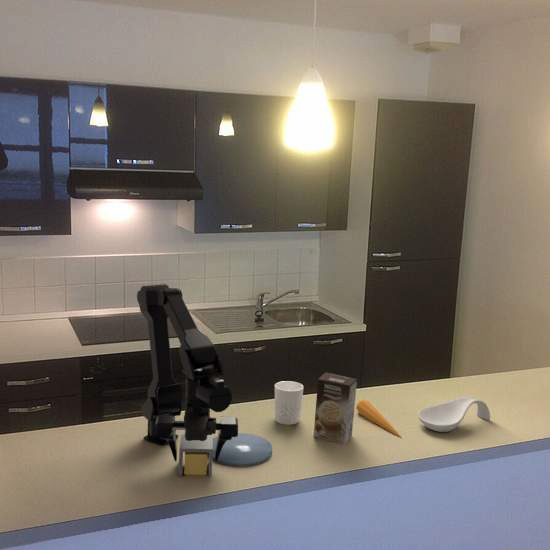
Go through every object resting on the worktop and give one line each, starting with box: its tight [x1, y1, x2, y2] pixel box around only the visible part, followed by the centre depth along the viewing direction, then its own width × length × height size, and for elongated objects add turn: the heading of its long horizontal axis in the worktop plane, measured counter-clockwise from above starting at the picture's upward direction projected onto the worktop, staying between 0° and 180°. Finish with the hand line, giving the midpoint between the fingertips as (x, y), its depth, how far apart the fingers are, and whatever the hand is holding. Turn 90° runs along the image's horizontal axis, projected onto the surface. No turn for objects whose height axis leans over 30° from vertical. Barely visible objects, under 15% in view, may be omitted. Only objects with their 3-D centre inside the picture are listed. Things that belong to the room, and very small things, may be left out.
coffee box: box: [313, 372, 358, 445], centre depth 177 cm, size 9×6×16 cm
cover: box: [178, 434, 214, 478], centre depth 156 cm, size 7×7×7 cm
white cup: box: [274, 380, 304, 426], centre depth 187 cm, size 8×8×10 cm
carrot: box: [355, 399, 403, 439], centre depth 188 cm, size 20×4×4 cm, turn 27°
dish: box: [207, 432, 273, 467], centre depth 167 cm, size 16×16×1 cm
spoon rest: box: [417, 395, 491, 433], centre depth 191 cm, size 24×12×7 cm, turn 121°
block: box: [183, 452, 208, 475], centre depth 157 cm, size 5×5×5 cm
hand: (195, 460), depth 157 cm, fingers open, 9 cm apart
